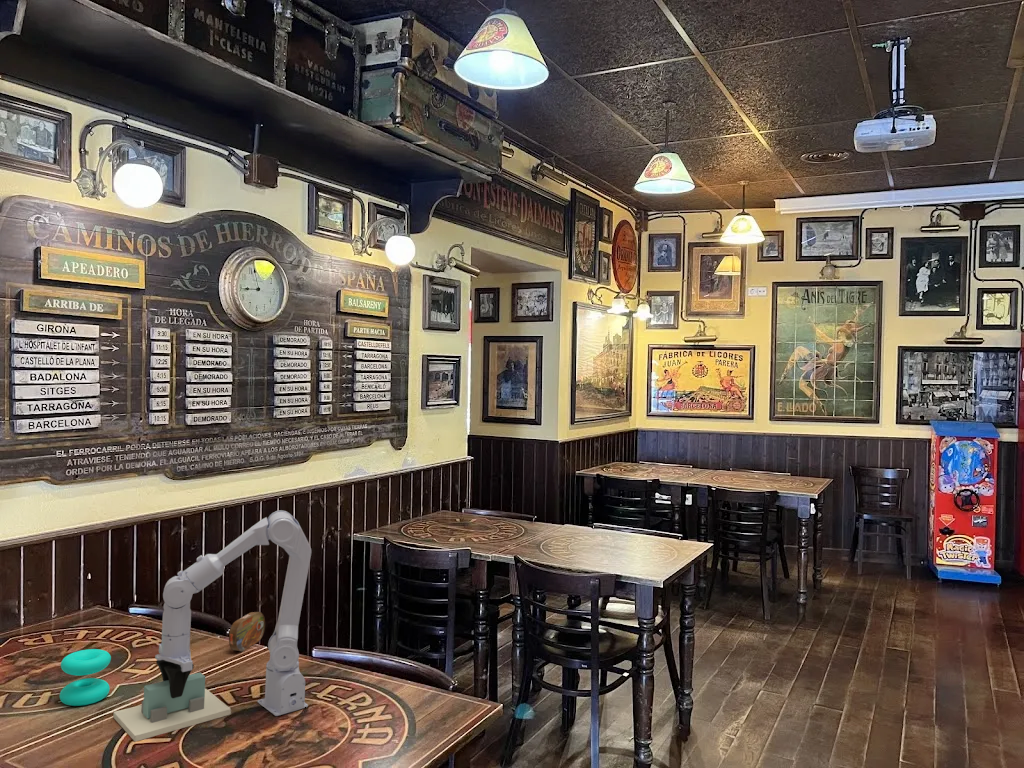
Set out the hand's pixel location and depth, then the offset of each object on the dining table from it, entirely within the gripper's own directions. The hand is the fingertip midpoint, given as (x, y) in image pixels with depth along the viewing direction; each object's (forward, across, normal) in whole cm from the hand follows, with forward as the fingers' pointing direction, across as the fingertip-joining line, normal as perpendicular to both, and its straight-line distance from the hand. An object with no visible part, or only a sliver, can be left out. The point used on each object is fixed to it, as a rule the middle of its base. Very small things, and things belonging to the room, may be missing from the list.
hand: (173, 694), depth 164 cm
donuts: (+5, -21, -12) cm, 25 cm away
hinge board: (+5, 0, 0) cm, 5 cm away
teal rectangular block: (+3, 0, 0) cm, 3 cm away
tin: (+5, -31, +31) cm, 44 cm away
